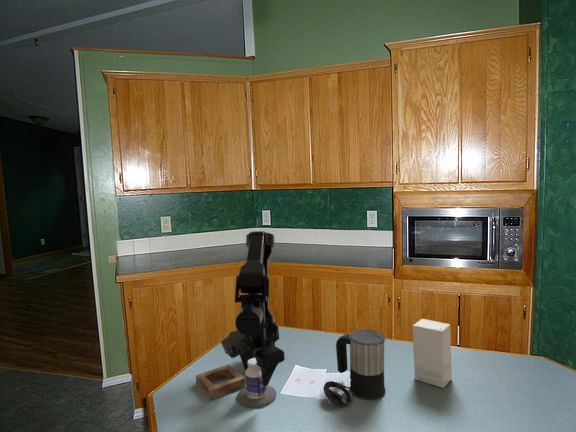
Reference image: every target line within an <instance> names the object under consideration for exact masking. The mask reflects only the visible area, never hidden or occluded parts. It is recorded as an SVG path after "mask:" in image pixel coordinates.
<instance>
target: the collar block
mask: <svg viewBox="0 0 576 432" xmlns="http://www.w3.org/2000/svg"><path fill="white" fill-rule="evenodd" d="M224 378H226V379H228V380H226V381H223V382H221V383H218V384H215V385H214V384H213V383H214V382H216V381H218V380H221V379H224ZM212 382H213V383H212ZM195 384H196V385H197V387H198V388H199V389H200V390H201V391H202V392H203V393H204V394H205V395H206V396H207V397H208V398H209V400H211V401H212V400H213V401H214V400H215V399H218V398H220V397H223V396H225V395H228V394H231V393H233V392H236V391H238V390H239V391H240V390H242V389H243V388H245V387H246V377H245V376H243V375H242V374H241V373H240V372H239V371H237V370H236V369H235V368H234V367H232V366H231V365H230V364H226V365H222V366H220V367H217V368H213V369H211V370H208V371H205V372H202V373H200V374H196V375H195Z"/></svg>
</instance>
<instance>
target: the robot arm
mask: <svg viewBox="0 0 576 432" xmlns="http://www.w3.org/2000/svg"><path fill="white" fill-rule="evenodd" d="M245 241H246V242H245V246H246V248H247V249H248V250H247V256H246V261H245V263H244V264H243V265H241V266H240V270H239V273H238V274H237V275H236V276H235V277H236V281H235V291H234V303H241V305H240V309H239V312H238V314H237V315H236V319H235V328H236V329H237V330H233V331H231V332H230V333H229V334H228V336H226V337H225V338H224V339H222V340H221V345H222V349H223V351H224V352H225V355H228V356H229V357H230V358H231V359H235V358H237V357H238V356H239V357H240V360H241V364H242V365H243V369H244V371H245V372H246V370H247V369H248V360H249V359H252V358H256V361H257V363H256V364H257V365H258V366H259V367H260V368H261V374H262V381H263V385H264V386H267V385H268V386H269V383H270V381H271V379H272V377H273V374H274V372H275V371H276V369H277V367H278V365H279V364H280V363H282V362H284V361H285V359H286V358H285V357H286V356H285V351H284V350H282V349H281V348H279V347H278V346H276V342H277V341H278V340H280V330H279V329H280V328H279V326H278V324H277V321H275V316H274V314H273V312H272V310H271V309H270V303H269V302H270V299H269V298H270V286H271V285H270V284H271V283H270V282H271V281H270V278H269V260H270V258H271V256H272V255H273V252H274V249H273V248H275V247H276V246H275V245H276V243H275V242H276V241H275V235H274V234H272V233H271V232H267V231H263V230H260V231H259V230H258V231H257V230H256V231H255V230H254V231H251V232H249V233H248V234H246V236H245Z"/></svg>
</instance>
